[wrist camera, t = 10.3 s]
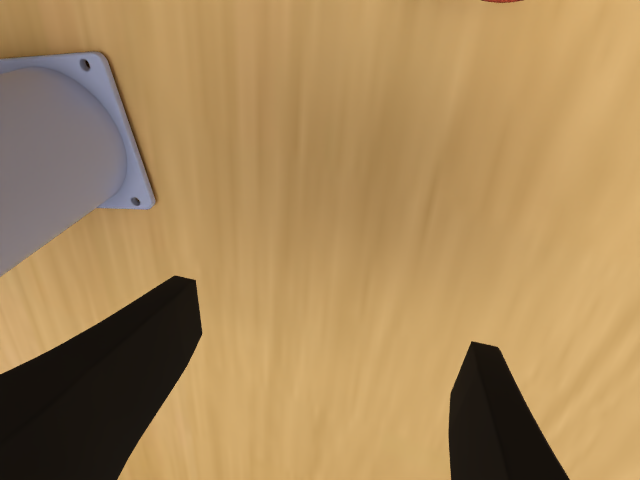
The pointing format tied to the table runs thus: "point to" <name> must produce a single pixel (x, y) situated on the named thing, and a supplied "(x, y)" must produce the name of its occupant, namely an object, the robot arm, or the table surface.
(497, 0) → the glue stick
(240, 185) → the table surface
